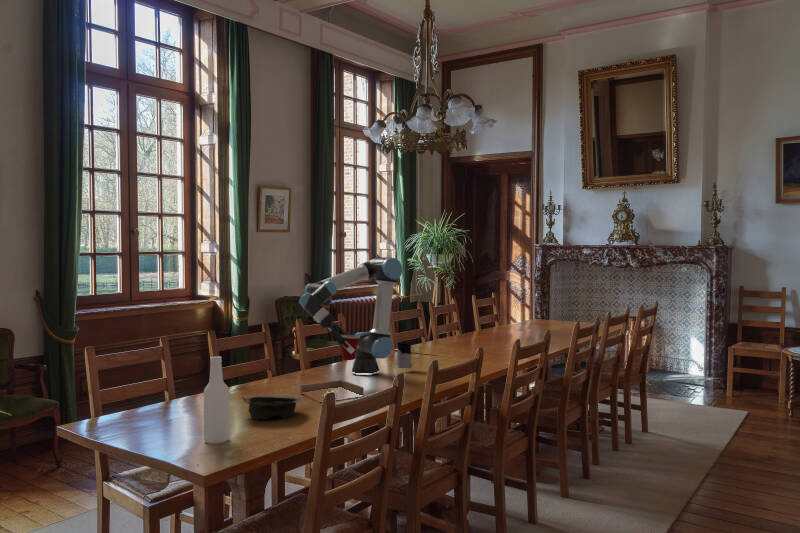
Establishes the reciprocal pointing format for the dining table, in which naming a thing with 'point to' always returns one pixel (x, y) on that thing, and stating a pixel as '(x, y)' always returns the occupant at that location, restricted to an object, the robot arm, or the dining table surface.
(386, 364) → the dining table surface
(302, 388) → the tray
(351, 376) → the dining table surface
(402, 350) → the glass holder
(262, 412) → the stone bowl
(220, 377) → the alcohol
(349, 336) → the plastic cup
